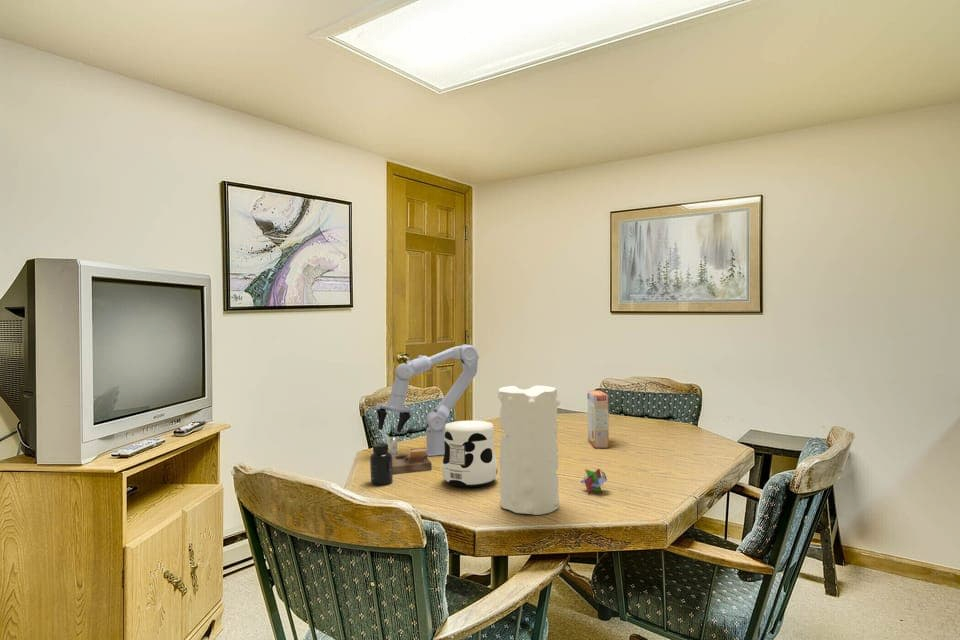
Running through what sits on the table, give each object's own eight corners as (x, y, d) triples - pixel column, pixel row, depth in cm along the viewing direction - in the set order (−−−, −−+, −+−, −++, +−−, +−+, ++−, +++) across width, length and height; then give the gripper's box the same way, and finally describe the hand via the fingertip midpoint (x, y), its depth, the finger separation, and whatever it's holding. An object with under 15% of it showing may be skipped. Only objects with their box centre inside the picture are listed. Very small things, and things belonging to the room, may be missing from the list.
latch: (423, 458, 188) (422, 455, 188) (426, 450, 183) (425, 447, 184) (409, 460, 186) (408, 456, 187) (411, 452, 182) (411, 448, 182)
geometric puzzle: (590, 491, 151) (601, 465, 154) (572, 485, 157) (583, 460, 159) (604, 502, 155) (614, 476, 157) (586, 495, 160) (596, 471, 163)
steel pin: (396, 454, 204) (396, 436, 204) (398, 456, 202) (397, 437, 202) (388, 455, 203) (388, 437, 203) (390, 457, 201) (389, 438, 201)
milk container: (491, 473, 178) (490, 418, 178) (502, 489, 161) (501, 428, 161) (439, 476, 175) (438, 421, 175) (445, 493, 158) (444, 432, 158)
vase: (567, 515, 138) (564, 391, 138) (504, 518, 137) (502, 393, 137) (552, 494, 155) (550, 383, 155) (496, 496, 154) (495, 385, 154)
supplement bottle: (384, 478, 174) (383, 441, 174) (396, 482, 169) (396, 444, 169) (366, 483, 169) (365, 444, 169) (378, 487, 164) (377, 448, 164)
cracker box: (609, 448, 208) (609, 394, 208) (594, 448, 209) (593, 394, 209) (602, 440, 222) (601, 389, 222) (587, 440, 223) (586, 390, 223)
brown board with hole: (421, 458, 198) (421, 448, 198) (431, 470, 183) (431, 459, 183) (383, 462, 193) (383, 452, 193) (390, 474, 178) (390, 463, 178)
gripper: (410, 395, 210) (402, 430, 209) (376, 389, 202) (367, 425, 201) (418, 399, 204) (409, 434, 203) (383, 393, 196) (374, 430, 195)
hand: (389, 430), depth 202 cm, fingers open, 7 cm apart
